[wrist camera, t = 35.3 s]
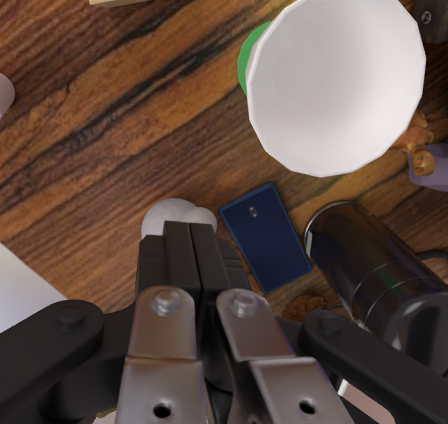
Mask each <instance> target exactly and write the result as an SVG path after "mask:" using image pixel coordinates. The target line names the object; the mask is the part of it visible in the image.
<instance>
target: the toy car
mask: <svg viewBox="0 0 448 424" xmlns="http://www.w3.org/2000/svg"><path fill="white" fill-rule="evenodd" d="M445 111H446V116H448V102H447V104H446V107H445Z"/></svg>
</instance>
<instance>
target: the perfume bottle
mask: <svg viewBox="0 0 448 424" xmlns="http://www.w3.org/2000/svg"><path fill="white" fill-rule="evenodd" d="M165 220H167V221H179V222H188V223H189V222H192V223H204V224H212V226H213V229H214V232H215V233H216V229H217V220H216V217H215V215H214V214H213V213H212V212H211V211H210V210H208V209H206V208H203V207H196V206H195V205H194V204H193V203H191V202H189V201H186V200H184V199H178V198H170V199H166V200H163V201H160V202H159V203H157V204H155V205H154V206H153V207H152V208H151V209H150V210H149V211H148V212H147V214H146V216H145V218H144V220H143V223H142V227H141V233H142V239H143V238H144V237H145V236H146V235H147V234H149V235H162V233H163V226H164V221H165Z"/></svg>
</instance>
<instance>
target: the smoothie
mask: <svg viewBox="0 0 448 424" xmlns="http://www.w3.org/2000/svg"><path fill="white" fill-rule="evenodd" d="M14 98H15V90H14V87H13V85H12V83H11V81H10V80H9V79H8V78H7V77H6V76H4V75H3V74H1V73H0V119H1V118H2V116H3V115H4V114H5V112H6V111H7V109H8V108H9V107H10V105H11V104H12V102H13V101H14Z"/></svg>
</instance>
